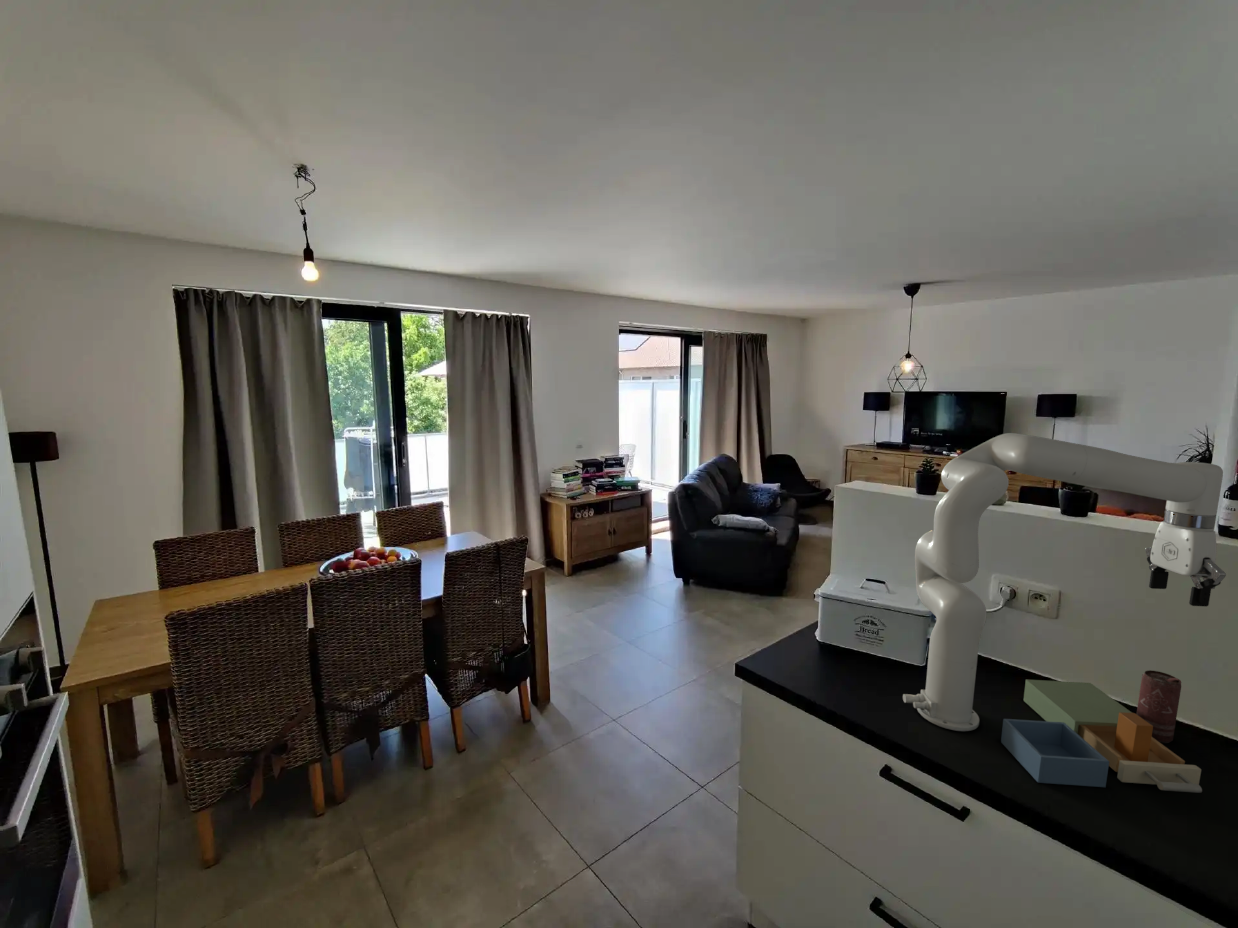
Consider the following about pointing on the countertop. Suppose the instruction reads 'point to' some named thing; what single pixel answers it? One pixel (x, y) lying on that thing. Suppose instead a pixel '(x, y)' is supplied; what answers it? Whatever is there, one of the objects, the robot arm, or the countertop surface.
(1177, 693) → the can
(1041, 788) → the countertop surface
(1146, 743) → the orange brown brick
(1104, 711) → the cabinet
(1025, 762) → the bin
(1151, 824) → the countertop surface
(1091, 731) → the drawer
